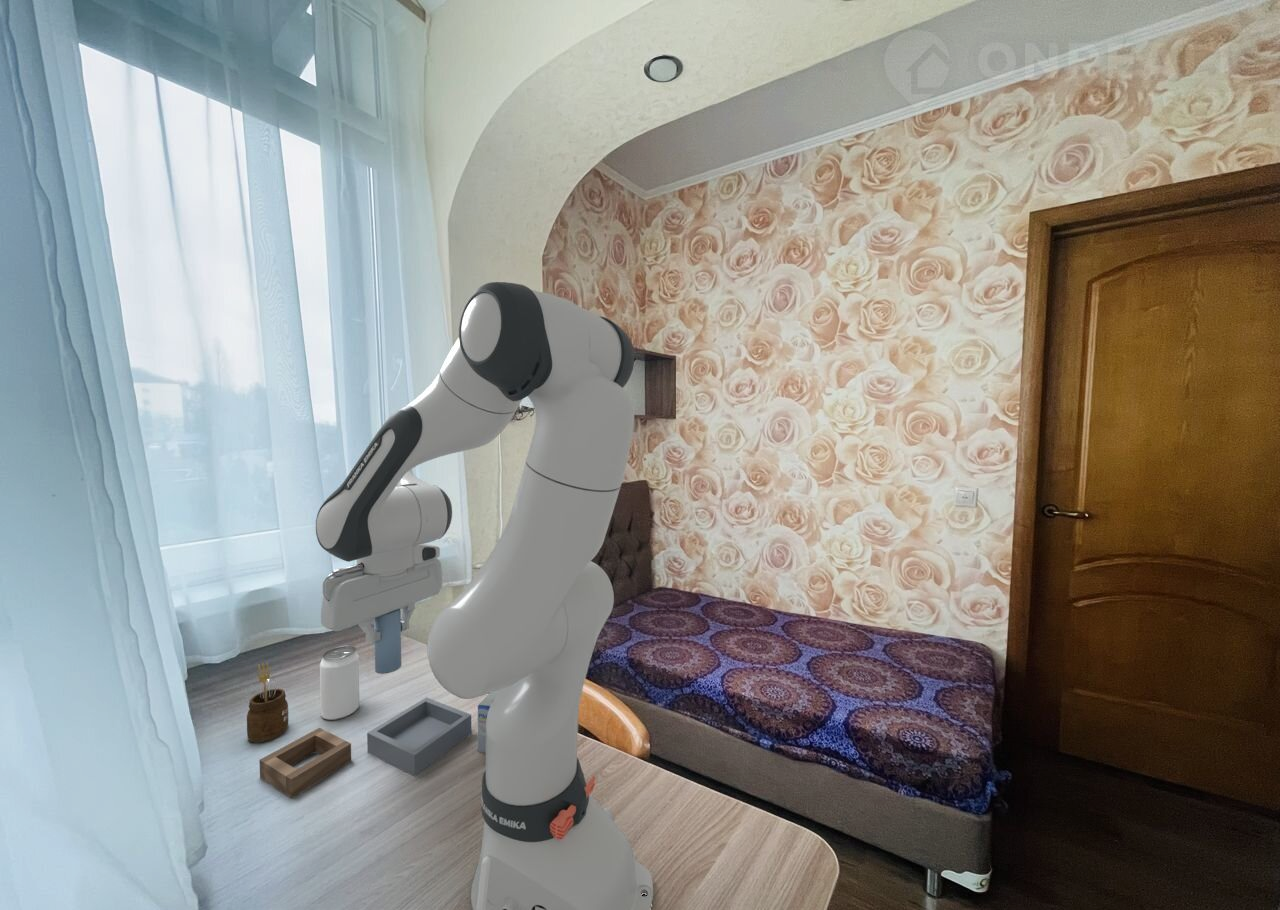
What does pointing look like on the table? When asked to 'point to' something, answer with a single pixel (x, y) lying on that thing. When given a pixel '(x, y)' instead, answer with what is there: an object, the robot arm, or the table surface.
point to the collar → (295, 781)
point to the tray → (419, 735)
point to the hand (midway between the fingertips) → (388, 636)
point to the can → (339, 682)
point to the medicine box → (484, 720)
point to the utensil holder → (267, 712)
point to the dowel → (388, 642)
